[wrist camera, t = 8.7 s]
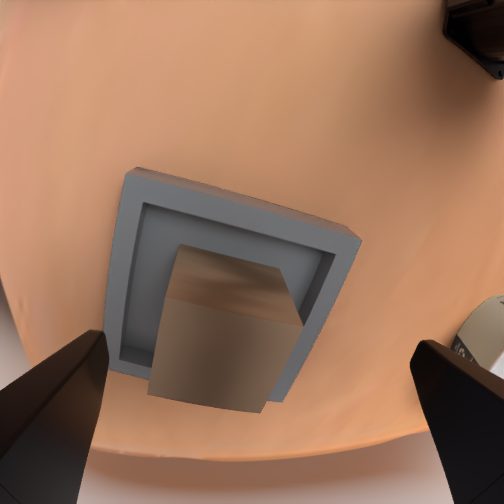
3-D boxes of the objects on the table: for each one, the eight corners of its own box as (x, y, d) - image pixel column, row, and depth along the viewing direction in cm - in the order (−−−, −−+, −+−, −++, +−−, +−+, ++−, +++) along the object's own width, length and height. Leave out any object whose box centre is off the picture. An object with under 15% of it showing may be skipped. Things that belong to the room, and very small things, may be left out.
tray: (346, 226, 20) (362, 240, 17) (276, 380, 24) (282, 402, 22) (137, 166, 17) (125, 173, 15) (109, 345, 21) (101, 367, 19)
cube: (279, 268, 19) (303, 327, 14) (249, 346, 21) (260, 413, 16) (180, 243, 18) (165, 297, 12) (161, 327, 20) (147, 394, 14)
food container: (531, 278, 24) (571, 307, 18) (493, 366, 29) (522, 399, 23) (464, 284, 23) (512, 325, 17) (422, 387, 27) (451, 432, 21)
